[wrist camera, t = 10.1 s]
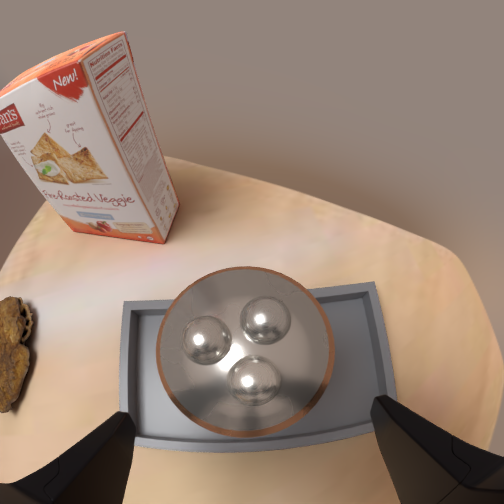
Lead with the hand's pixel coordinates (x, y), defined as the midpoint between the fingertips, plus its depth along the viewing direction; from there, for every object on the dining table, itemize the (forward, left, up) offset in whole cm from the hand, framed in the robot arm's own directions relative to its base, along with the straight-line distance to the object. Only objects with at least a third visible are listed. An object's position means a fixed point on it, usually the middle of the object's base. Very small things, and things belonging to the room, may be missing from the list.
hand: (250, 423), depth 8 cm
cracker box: (+25, -1, -14) cm, 28 cm away
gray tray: (+2, -2, -13) cm, 14 cm away
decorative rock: (+21, +22, -14) cm, 33 cm away
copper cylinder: (+2, -2, -13) cm, 13 cm away
